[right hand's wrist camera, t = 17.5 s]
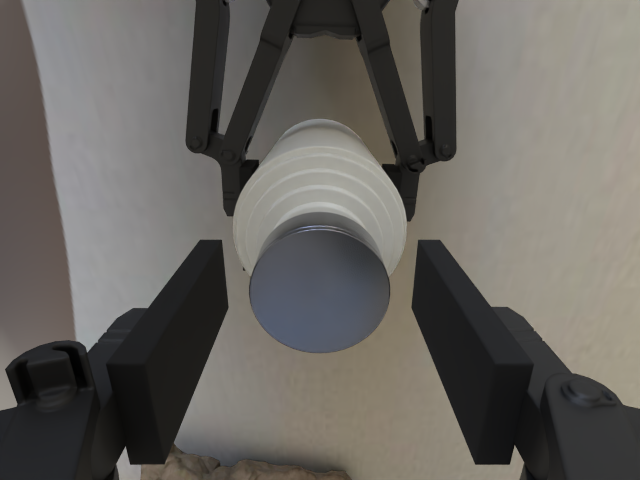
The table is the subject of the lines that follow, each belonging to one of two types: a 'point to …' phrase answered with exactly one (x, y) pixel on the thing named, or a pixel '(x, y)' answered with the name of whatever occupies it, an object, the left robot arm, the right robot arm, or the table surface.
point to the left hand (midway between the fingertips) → (317, 263)
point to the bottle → (319, 190)
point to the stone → (228, 470)
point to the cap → (319, 283)
